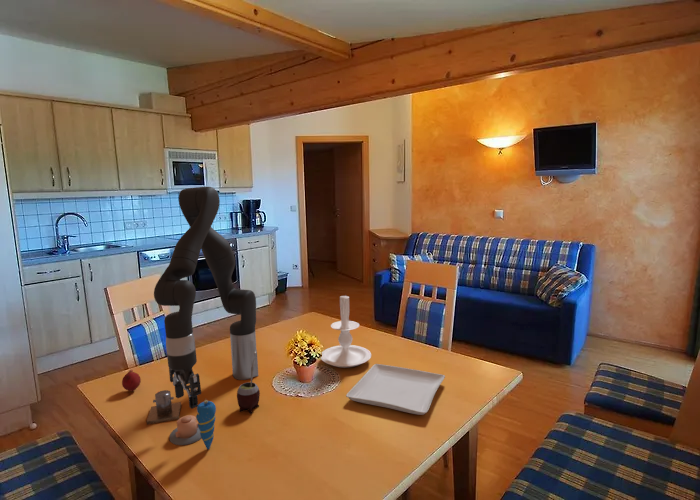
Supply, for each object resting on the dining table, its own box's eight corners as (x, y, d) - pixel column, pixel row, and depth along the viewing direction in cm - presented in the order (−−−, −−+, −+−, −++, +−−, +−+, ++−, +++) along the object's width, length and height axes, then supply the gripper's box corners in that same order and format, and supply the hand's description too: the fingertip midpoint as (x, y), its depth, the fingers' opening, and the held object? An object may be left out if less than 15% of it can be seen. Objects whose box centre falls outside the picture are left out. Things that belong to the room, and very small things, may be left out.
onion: (133, 396, 144) (131, 374, 143) (119, 394, 145) (116, 373, 144) (145, 387, 150) (142, 367, 148) (131, 386, 151) (128, 365, 149)
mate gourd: (240, 417, 130) (237, 372, 127) (235, 405, 137) (232, 362, 134) (264, 410, 133) (261, 366, 131) (257, 399, 140) (255, 357, 138)
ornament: (202, 443, 117) (197, 394, 114) (220, 442, 117) (216, 393, 115) (196, 455, 112) (192, 404, 109) (216, 454, 112) (212, 402, 110)
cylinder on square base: (181, 404, 138) (179, 384, 137) (178, 419, 129) (176, 398, 128) (151, 409, 135) (149, 389, 134) (146, 424, 127) (144, 403, 125)
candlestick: (370, 348, 182) (370, 285, 177) (371, 373, 157) (371, 302, 153) (323, 348, 182) (322, 286, 178) (317, 373, 158) (315, 302, 153)
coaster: (206, 422, 127) (206, 420, 127) (205, 441, 118) (205, 439, 118) (171, 428, 124) (171, 426, 124) (167, 448, 115) (167, 446, 115)
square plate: (445, 383, 149) (445, 373, 149) (426, 424, 125) (426, 412, 124) (375, 370, 160) (375, 361, 160) (344, 405, 136) (344, 394, 135)
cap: (202, 431, 122) (201, 416, 121) (181, 441, 117) (179, 426, 116) (193, 424, 125) (192, 410, 124) (172, 434, 120) (170, 420, 119)
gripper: (206, 351, 115) (211, 405, 118) (182, 338, 124) (187, 388, 127) (179, 361, 109) (185, 417, 112) (156, 346, 119) (163, 398, 122)
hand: (186, 402), depth 120 cm, fingers open, 8 cm apart
